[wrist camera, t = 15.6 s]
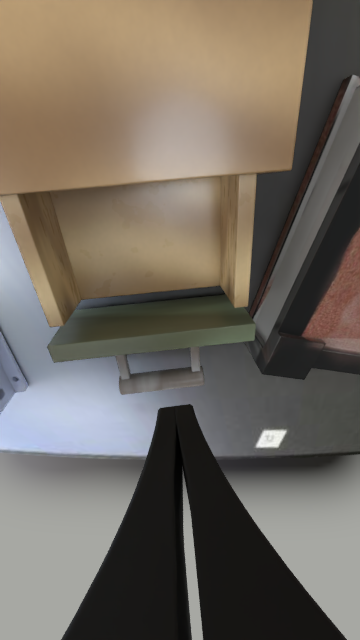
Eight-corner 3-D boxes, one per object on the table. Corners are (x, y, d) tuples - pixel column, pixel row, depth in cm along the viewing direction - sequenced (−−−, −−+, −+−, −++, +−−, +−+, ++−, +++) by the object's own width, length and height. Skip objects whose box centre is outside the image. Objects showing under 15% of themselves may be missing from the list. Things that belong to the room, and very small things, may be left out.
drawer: (232, 354, 21) (249, 394, 17) (91, 370, 20) (75, 415, 16) (241, 96, 13) (280, 55, 9) (7, 114, 12) (-66, 78, 8)
